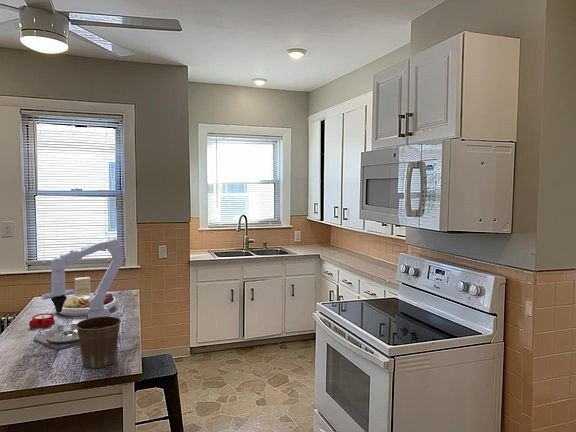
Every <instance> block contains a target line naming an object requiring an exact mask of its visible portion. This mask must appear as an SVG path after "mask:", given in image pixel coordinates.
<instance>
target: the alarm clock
mask: <svg viewBox="0 0 576 432" xmlns="http://www.w3.org/2000/svg"><path fill="white" fill-rule="evenodd" d="M54 316H55V314H54V313H49V312H48V313H39V314H36V315H33V316H32V318H31V320H30V321H29V324H28V325H29V327H30V328H32V329H36V328H41V327H42V328H49V327H51V325H55V323H56V321H55V317H54Z"/></svg>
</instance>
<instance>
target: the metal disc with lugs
mask: <svg viewBox="0 0 576 432" xmlns="http://www.w3.org/2000/svg"><path fill="white" fill-rule="evenodd" d="M78 322H79V321H73V322H72V323H70V327H65V326H64V324H62V323H57V324H53V328H46V330H45V335H46V340H47V341H48V342H52V343H68V342H74V341H78V340H80V339H79V336H78V331H77V328H76V324H77V323H78Z"/></svg>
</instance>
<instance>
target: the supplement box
mask: <svg viewBox="0 0 576 432" xmlns="http://www.w3.org/2000/svg"><path fill="white" fill-rule="evenodd" d="M74 290H75V294H74V295H75V296H83V295H92V293H91V292H92V291H91V277H90V276H84V277H83V276H82V277H75V278H74ZM75 296H74V297H75Z"/></svg>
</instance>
